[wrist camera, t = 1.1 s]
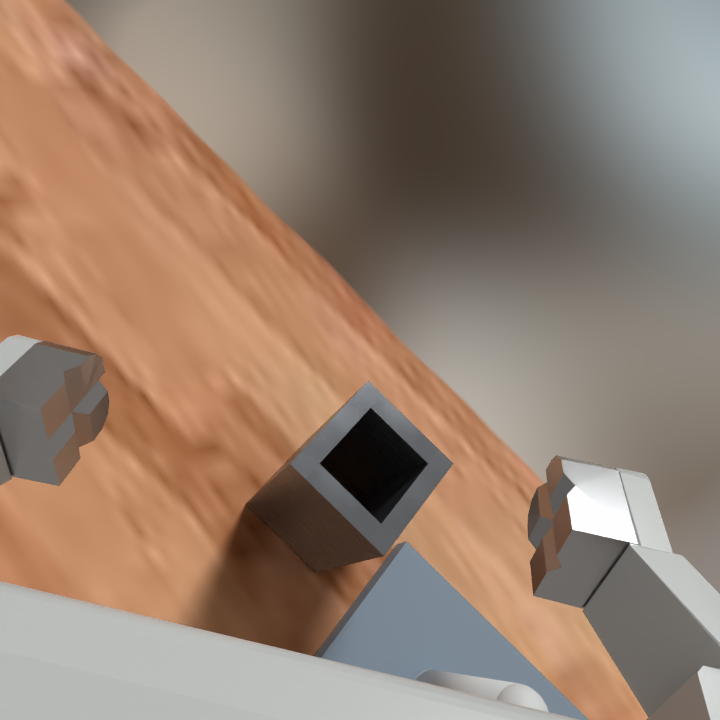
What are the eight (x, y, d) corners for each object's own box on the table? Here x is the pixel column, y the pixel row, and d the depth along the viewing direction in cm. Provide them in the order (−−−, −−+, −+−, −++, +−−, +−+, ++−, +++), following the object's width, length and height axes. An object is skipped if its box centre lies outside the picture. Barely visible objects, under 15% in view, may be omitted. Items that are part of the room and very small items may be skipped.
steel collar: (245, 503, 36) (289, 463, 27) (308, 438, 39) (368, 381, 30) (315, 572, 36) (383, 555, 27) (373, 500, 39) (453, 463, 30)
